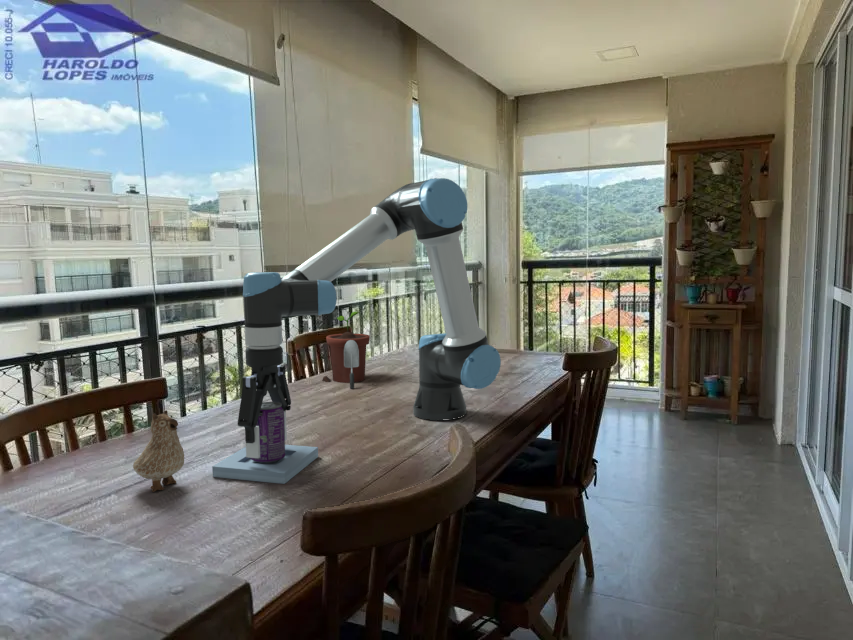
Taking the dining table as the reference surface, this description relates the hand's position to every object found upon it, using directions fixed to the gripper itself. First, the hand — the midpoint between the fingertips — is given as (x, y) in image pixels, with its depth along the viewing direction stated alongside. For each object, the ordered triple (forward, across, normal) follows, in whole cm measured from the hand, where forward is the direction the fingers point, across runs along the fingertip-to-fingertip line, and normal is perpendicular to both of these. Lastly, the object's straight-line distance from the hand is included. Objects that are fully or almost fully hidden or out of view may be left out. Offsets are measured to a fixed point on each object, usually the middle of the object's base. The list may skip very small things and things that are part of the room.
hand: (267, 448), depth 123 cm
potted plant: (+4, -84, -15) cm, 85 cm away
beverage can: (+3, 0, 0) cm, 3 cm away
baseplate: (+4, 0, 0) cm, 4 cm away
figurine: (+4, +15, -15) cm, 22 cm away
